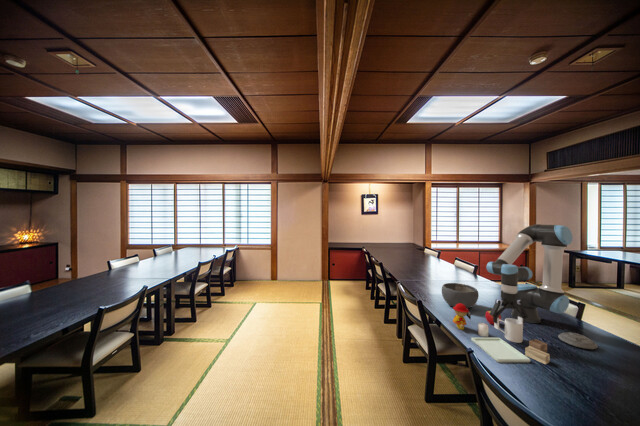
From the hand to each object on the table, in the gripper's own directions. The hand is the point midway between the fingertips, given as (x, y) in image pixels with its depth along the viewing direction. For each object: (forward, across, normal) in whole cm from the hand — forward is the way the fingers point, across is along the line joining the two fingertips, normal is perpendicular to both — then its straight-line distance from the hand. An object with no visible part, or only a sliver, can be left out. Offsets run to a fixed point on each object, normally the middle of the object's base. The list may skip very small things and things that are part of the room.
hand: (508, 328), depth 138 cm
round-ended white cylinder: (+6, +12, -4) cm, 14 cm away
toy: (+6, +20, -13) cm, 24 cm away
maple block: (+6, 0, +19) cm, 20 cm away
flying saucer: (+6, -34, +5) cm, 35 cm away
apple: (+6, -4, -18) cm, 20 cm away
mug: (+6, 0, 0) cm, 6 cm away
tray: (+6, +14, +12) cm, 20 cm away
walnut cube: (+6, -6, +13) cm, 15 cm away
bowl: (+6, 0, -47) cm, 48 cm away
